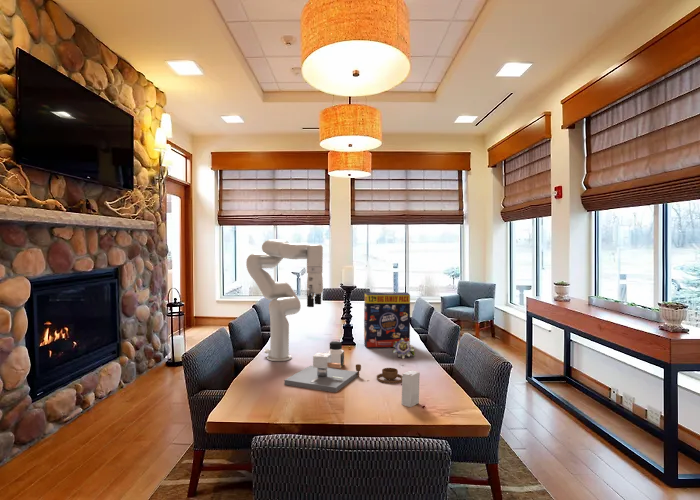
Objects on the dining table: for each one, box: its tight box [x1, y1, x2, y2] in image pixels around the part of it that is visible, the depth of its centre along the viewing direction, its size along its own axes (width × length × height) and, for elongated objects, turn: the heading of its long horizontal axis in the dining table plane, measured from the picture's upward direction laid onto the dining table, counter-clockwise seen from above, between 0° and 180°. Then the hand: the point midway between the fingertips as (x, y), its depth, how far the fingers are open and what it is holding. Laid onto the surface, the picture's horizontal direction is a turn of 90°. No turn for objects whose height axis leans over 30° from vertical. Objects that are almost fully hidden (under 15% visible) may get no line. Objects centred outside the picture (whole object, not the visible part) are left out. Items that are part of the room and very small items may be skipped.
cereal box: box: [363, 291, 411, 349], centre depth 260 cm, size 27×11×32 cm, turn 97°
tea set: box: [355, 363, 402, 384], centre depth 199 cm, size 18×20×6 cm
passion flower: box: [391, 338, 416, 360], centre depth 236 cm, size 11×11×12 cm
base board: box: [283, 365, 358, 393], centre depth 194 cm, size 24×24×2 cm
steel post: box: [317, 368, 327, 377], centre depth 194 cm, size 4×4×4 cm
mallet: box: [312, 352, 342, 369], centre depth 193 cm, size 6×11×5 cm, turn 76°
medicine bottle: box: [327, 340, 345, 369], centre depth 217 cm, size 7×7×12 cm
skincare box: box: [401, 370, 421, 408], centre depth 166 cm, size 6×4×12 cm
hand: (314, 305), depth 212 cm, fingers open, 9 cm apart
